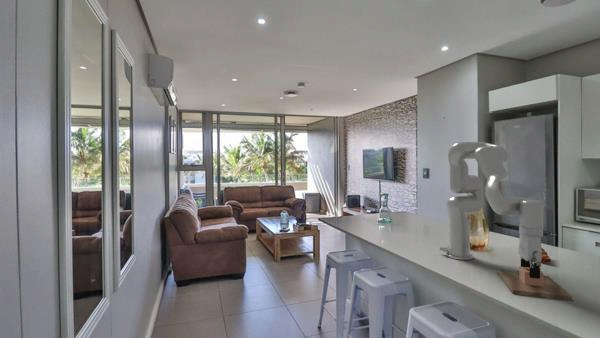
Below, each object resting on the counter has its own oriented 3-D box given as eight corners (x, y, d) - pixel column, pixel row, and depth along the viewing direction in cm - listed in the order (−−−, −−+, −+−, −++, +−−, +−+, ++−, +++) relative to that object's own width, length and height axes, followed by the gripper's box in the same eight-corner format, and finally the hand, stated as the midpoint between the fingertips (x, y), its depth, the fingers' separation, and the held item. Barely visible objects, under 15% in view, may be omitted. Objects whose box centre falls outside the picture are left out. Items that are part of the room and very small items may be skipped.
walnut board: (512, 293, 112) (512, 289, 112) (497, 274, 131) (497, 271, 131) (572, 300, 106) (572, 296, 106) (548, 279, 124) (548, 275, 124)
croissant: (514, 258, 161) (507, 245, 162) (531, 249, 161) (524, 236, 161) (544, 271, 140) (535, 256, 141) (563, 261, 140) (555, 247, 140)
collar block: (524, 284, 116) (524, 271, 116) (519, 278, 122) (519, 266, 122) (543, 286, 114) (543, 273, 114) (537, 280, 120) (537, 268, 120)
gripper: (512, 225, 127) (511, 264, 128) (527, 235, 111) (526, 280, 112) (533, 226, 124) (532, 266, 125) (552, 237, 108) (551, 283, 109)
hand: (529, 273), depth 119 cm, fingers open, 9 cm apart
